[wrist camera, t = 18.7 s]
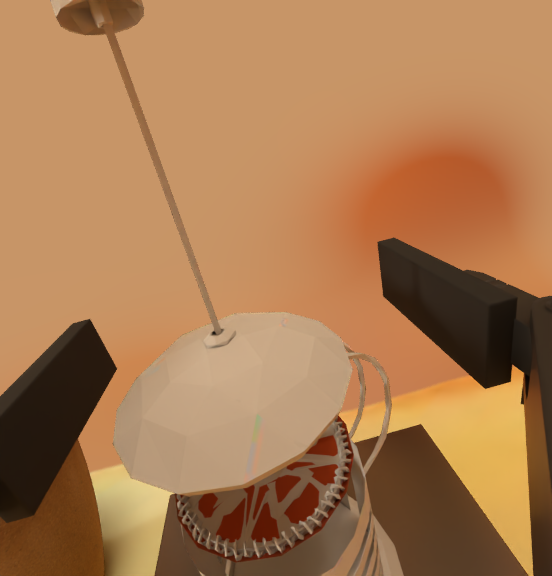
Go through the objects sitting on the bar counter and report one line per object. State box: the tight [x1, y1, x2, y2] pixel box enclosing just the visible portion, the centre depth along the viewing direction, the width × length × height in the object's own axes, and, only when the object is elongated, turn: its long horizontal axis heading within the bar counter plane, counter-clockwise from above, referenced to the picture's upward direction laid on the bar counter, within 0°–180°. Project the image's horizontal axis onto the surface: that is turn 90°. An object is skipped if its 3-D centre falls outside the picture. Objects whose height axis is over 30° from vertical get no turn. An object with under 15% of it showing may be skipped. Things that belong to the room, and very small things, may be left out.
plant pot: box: [0, 439, 105, 576], centre depth 24 cm, size 15×15×16 cm
